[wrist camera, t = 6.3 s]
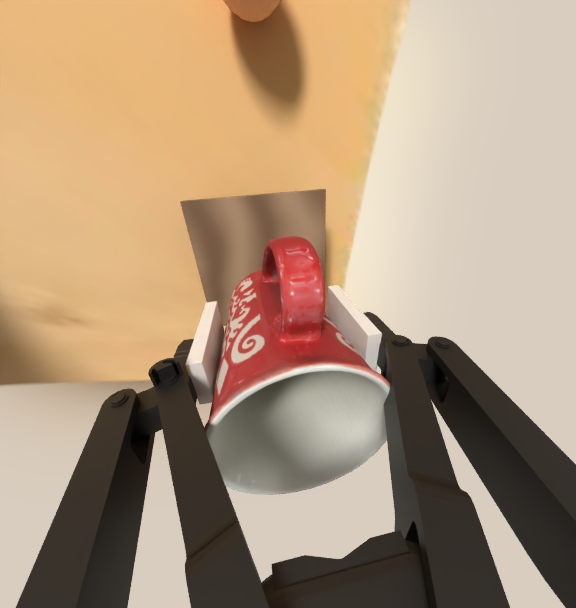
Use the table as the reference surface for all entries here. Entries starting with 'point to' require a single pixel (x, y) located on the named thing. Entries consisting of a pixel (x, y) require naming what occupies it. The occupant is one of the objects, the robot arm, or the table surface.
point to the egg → (252, 8)
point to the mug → (291, 383)
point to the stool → (248, 235)
